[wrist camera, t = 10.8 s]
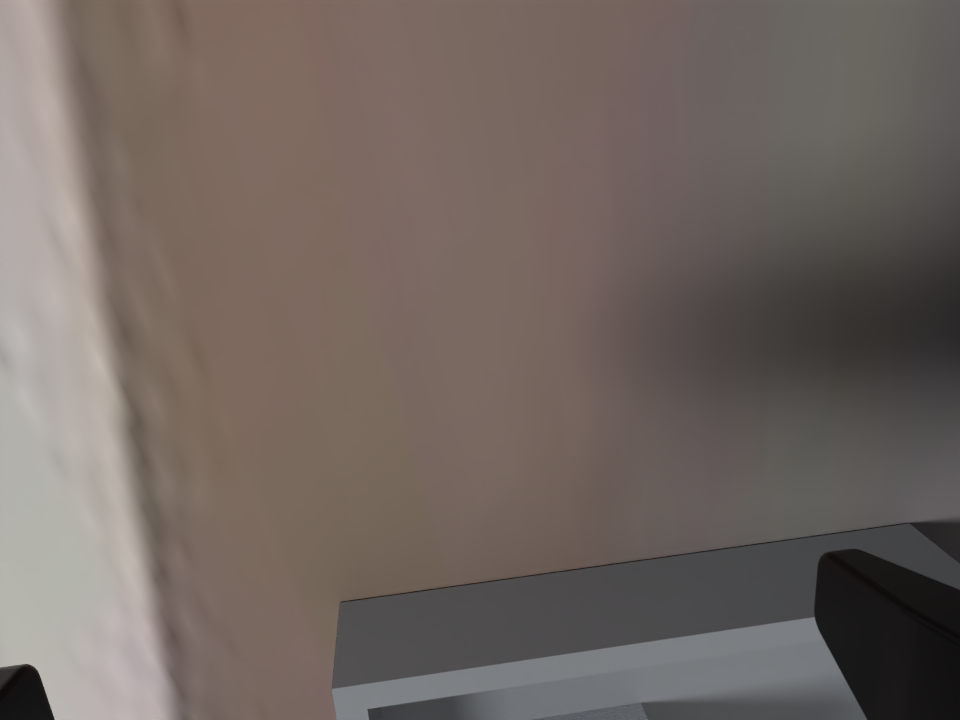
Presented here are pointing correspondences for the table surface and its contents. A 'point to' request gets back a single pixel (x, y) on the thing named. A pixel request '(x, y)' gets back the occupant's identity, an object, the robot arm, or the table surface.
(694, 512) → the table surface
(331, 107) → the table surface
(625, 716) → the steel block
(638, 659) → the tray
